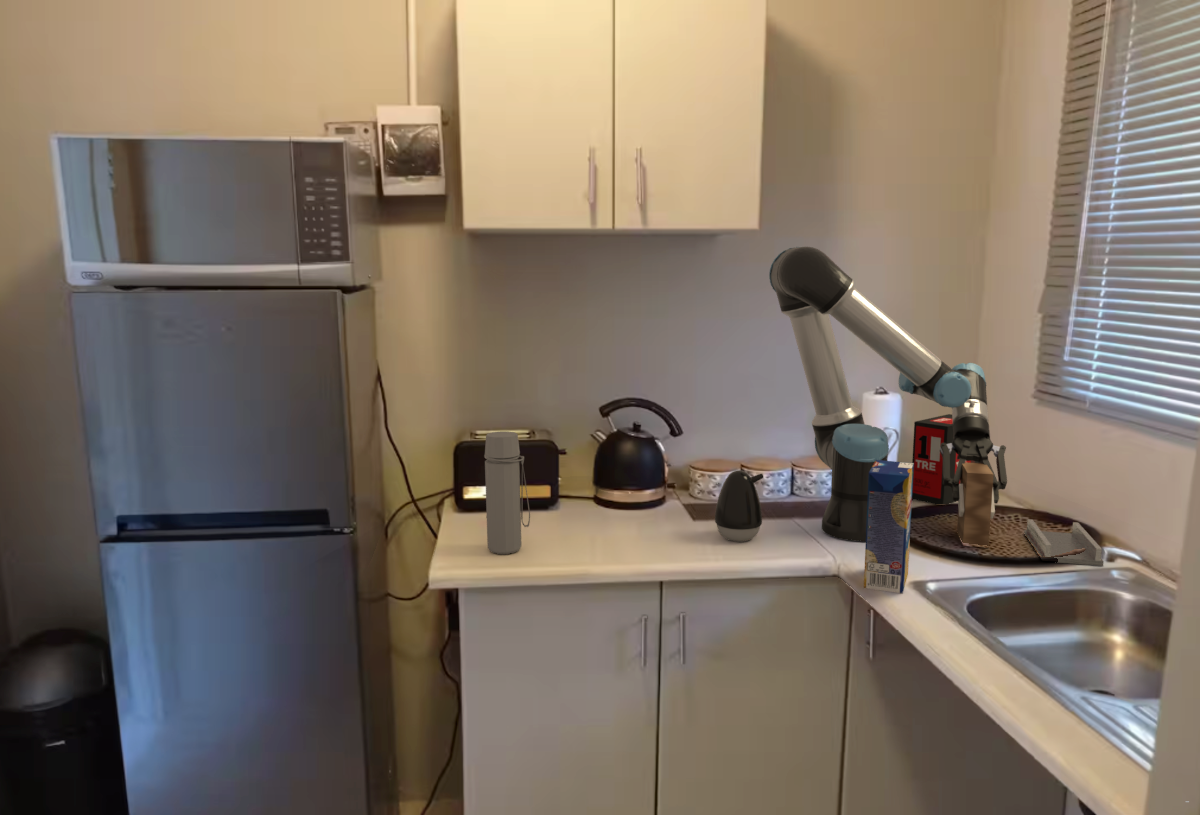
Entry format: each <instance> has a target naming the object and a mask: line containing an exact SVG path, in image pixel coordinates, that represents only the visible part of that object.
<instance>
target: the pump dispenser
mask: <svg viewBox="0 0 1200 815" xmlns="http://www.w3.org/2000/svg"><path fill="white" fill-rule="evenodd" d="M761 479H764V474H763V473H758V474H756V475H753V476H750V474H749V473H748V472H746V471H743V470H734V471H732V472H730V473H729V474H728V475H727V477H726V479H725V480H724V482H723V484H722V486H721V489H720V492H719V495H718V497H717V503H716V505H715V506H716V508H715V514H714V523H715V524H716V527H717V531H718V533H719V534H720V535H721V536H722V537H723V538H725V539H726V540H728V541H731V542H739V543H741V542H743V543H744V542H748V541H750V540H752V539H753V538H755V537H756V536H757V535H758V533H759V531H760V528H761V526H762V525H763V514H762V506H761V505H762V504H761V501H760V497H759V496H760V495H759V493H758V490H757V487H756V485H755V483H756V482H758V481H760V480H761Z"/></svg>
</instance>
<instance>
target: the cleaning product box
mask: <svg viewBox="0 0 1200 815" xmlns="http://www.w3.org/2000/svg"><path fill="white" fill-rule="evenodd" d="M913 423H914V424H913V425H914V426H913V440H912V441H913V444H912V462H911V463H914V469H913V488H912V500H914V501H919V502H924V503H928V504H932V505H936V504H948V505H950V504H949V503H951V504H954V503H955V502H957V501H954V500H953V495H952V489H951V487H950V486H944V485H943V457H942V455H941V453H940V446H941V443H946V444H950V443H952V441H953V440H954V439H953V420H952V414H950V413H949V414H948V413H947V414H943V415H938V416H935V417H934V416H933V417H930V418H926V419H921V420H915V421H914V422H913ZM959 459H960V456H959V455H958V454H957V453H956V452H955V451H954V450H953V449H951V453H950V478H952V479H954V476H955V473H956V469H957V466H958V463H959ZM965 462H966V463H979V462H978V461H973V460H971V461H965ZM959 484H960V481H959Z"/></svg>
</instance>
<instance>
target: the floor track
mask: <svg viewBox="0 0 1200 815" xmlns="http://www.w3.org/2000/svg"><path fill="white" fill-rule="evenodd" d="M1026 521H1027V522H1026V524H1027V525H1026V529H1023V534H1024V533H1025V535H1026V536H1027V538H1028V539H1029V540H1030V542H1031V543H1032V544H1033V546H1034V547H1035V548H1036V550H1037V551H1038V553H1039V554H1040V555H1041V556H1042V557H1043V556H1045V557H1051V556H1055V555H1059V554H1062V553H1066V552H1070V551H1072V550H1074V549H1082V548H1085V549H1086V550H1085V551H1084V552H1082V553H1080V554H1076V555H1068V556H1063V557H1054V558H1057V559H1058V562H1057V563H1058V564H1059V563H1060V564H1068V565H1069V564H1071V565H1072V564H1073V565H1086V566H1098V567H1104V564H1105V561H1104V560H1103V559H1102V552H1103V548H1102V547H1101V546H1100V545H1099V544H1098V543H1097V541H1096V540H1094V538H1093V537H1092V536H1091V535H1090V534H1089V533H1088V532H1087V530H1085V528H1084V527H1083V526H1082V525H1081V524H1080V523H1079V522H1074V521H1073V522H1072V530H1071V532H1061V531H1059V532H1057V531H1042V530H1041V529H1040V527H1039V525H1037V523H1036V522H1035V520H1034V519H1027V520H1026ZM1025 535H1024V536H1025ZM1027 538H1026V539H1027Z"/></svg>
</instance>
